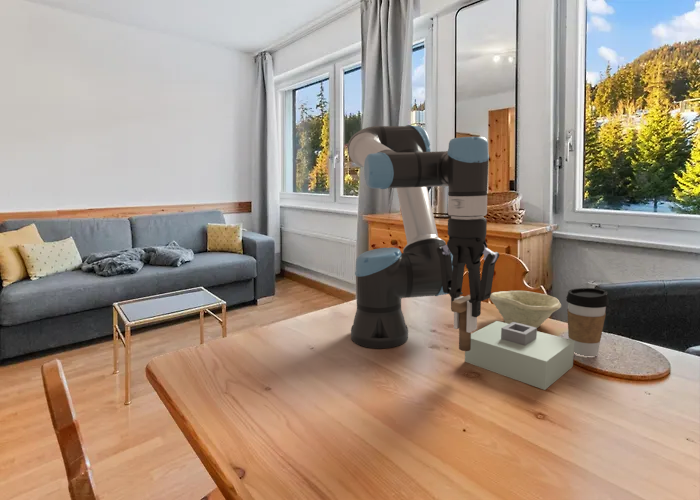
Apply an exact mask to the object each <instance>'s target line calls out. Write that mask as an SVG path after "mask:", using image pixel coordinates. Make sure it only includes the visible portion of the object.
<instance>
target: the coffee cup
mask: <svg viewBox="0 0 700 500" xmlns="http://www.w3.org/2000/svg"><path fill="white" fill-rule="evenodd" d="M565 299H566V302H567V303H568V304H567V306H568V307H567V310H566V311H567V313H566V314H567V333H568V335H567V336H568V339H570V340H574V352H575V353H577V354H580V355H584V356H596V355H597V354H598V355H599V351H600V349H599V348H600V345H601V340H602V336H603V335H602V334H603V329H604V325H605V320H606V315H607V314H606V308H607V307H608V306H609V303H610V301H609V294H608V291H607V290H604V289H601V288H597V287H596V288H595V287H581V288H580V287H579V288H571V289H569V290H568V291H567V296H566V298H565ZM598 355H597V356H598Z"/></svg>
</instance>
